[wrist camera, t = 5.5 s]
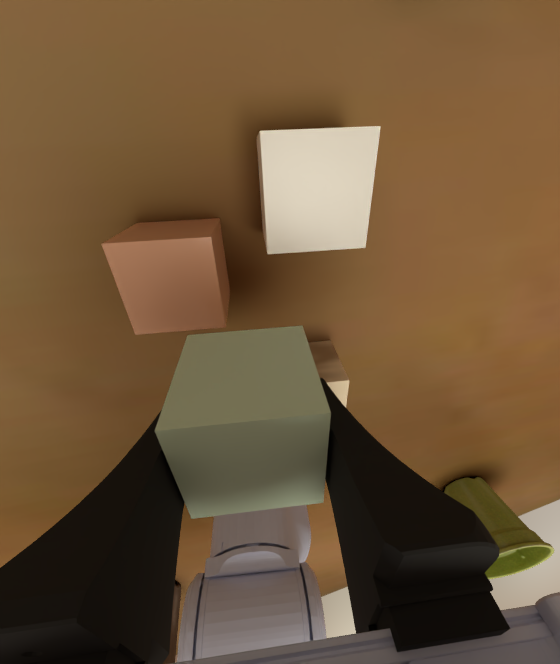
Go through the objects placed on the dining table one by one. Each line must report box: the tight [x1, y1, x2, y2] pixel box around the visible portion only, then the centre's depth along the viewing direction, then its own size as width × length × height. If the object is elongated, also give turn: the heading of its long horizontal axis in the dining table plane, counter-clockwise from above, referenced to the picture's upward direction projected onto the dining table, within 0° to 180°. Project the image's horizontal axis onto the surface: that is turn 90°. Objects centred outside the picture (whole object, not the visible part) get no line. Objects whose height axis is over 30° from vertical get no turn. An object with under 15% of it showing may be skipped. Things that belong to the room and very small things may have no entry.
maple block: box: [308, 340, 349, 407], centre depth 22 cm, size 5×5×5 cm
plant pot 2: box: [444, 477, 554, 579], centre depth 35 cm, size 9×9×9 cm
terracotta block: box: [102, 218, 230, 335], centre depth 16 cm, size 5×5×5 cm
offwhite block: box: [256, 126, 381, 254], centre depth 15 cm, size 5×5×5 cm
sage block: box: [155, 326, 331, 519], centre depth 11 cm, size 5×5×5 cm
